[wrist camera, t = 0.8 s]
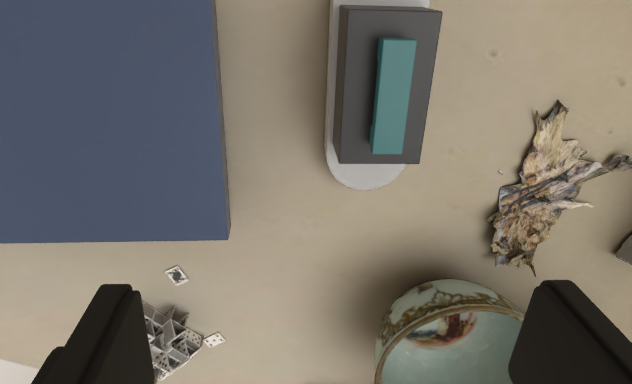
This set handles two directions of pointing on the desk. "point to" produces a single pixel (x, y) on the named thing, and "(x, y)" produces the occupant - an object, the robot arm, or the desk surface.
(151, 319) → the house of cards
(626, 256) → the mineral specimen
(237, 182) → the desk surface
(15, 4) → the blue rectangular board
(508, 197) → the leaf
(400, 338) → the bowl
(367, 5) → the iron
